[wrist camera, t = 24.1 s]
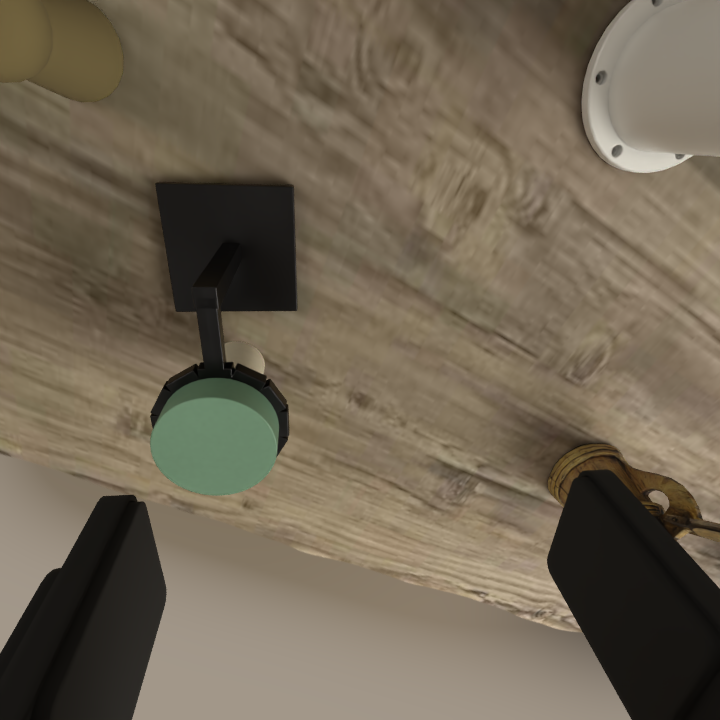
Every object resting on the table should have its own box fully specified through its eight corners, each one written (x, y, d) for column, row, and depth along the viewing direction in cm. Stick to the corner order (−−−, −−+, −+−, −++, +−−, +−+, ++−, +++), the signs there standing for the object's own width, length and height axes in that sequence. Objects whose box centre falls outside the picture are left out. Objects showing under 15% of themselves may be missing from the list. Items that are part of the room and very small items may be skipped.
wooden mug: (665, 431, 51) (830, 567, 35) (583, 510, 55) (696, 663, 40) (614, 400, 48) (768, 533, 32) (531, 486, 53) (631, 641, 37)
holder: (293, 185, 35) (290, 209, 24) (299, 389, 43) (299, 474, 32) (158, 181, 33) (92, 205, 23) (192, 392, 42) (154, 481, 31)
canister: (281, 322, 36) (274, 395, 26) (285, 401, 40) (280, 492, 30) (185, 323, 36) (138, 399, 25) (197, 403, 39) (161, 499, 29)
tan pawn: (94, 123, 31) (1, 119, 22) (5, 51, 29) (-145, 11, 19) (141, 47, 30) (63, 7, 20) (51, -35, 27) (-88, -127, 18)
